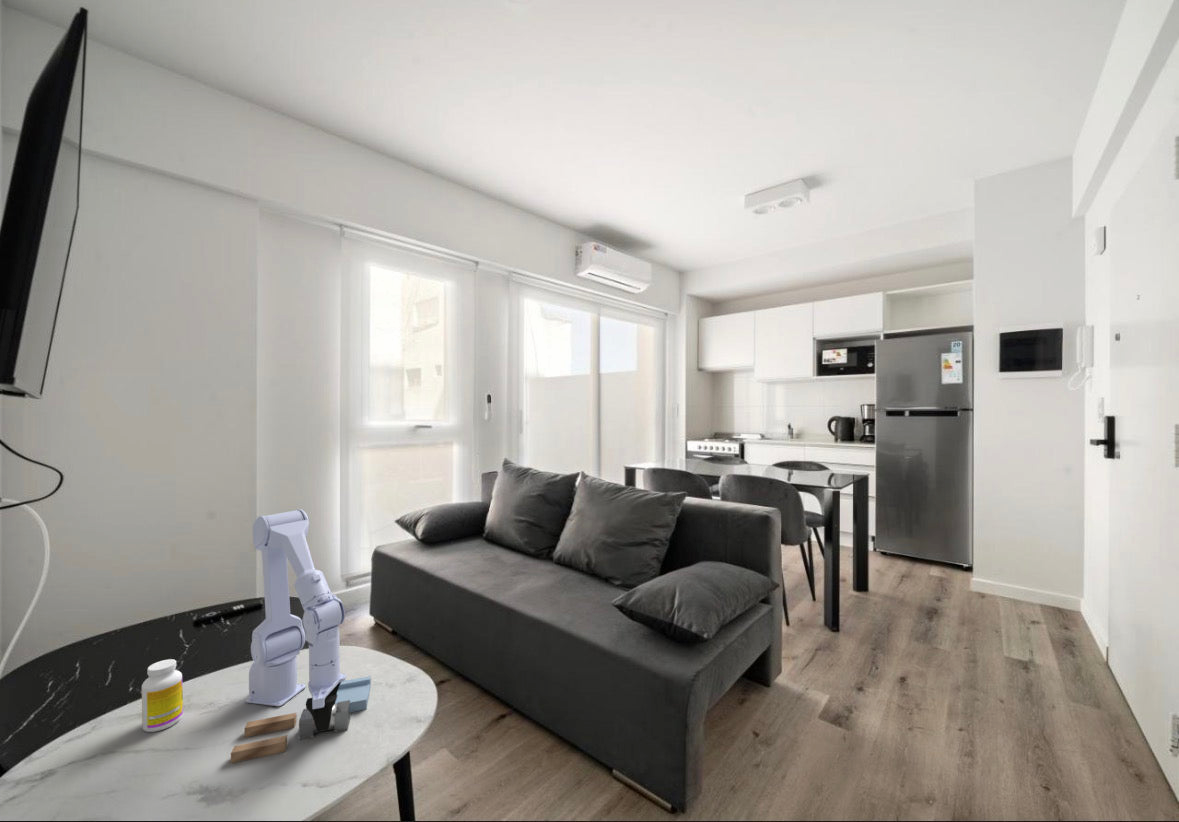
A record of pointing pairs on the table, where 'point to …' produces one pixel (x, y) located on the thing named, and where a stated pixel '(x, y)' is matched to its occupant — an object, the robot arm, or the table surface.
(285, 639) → the robot arm
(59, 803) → the table surface
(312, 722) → the silver boxy piece
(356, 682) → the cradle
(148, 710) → the supplement bottle
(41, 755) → the table surface
